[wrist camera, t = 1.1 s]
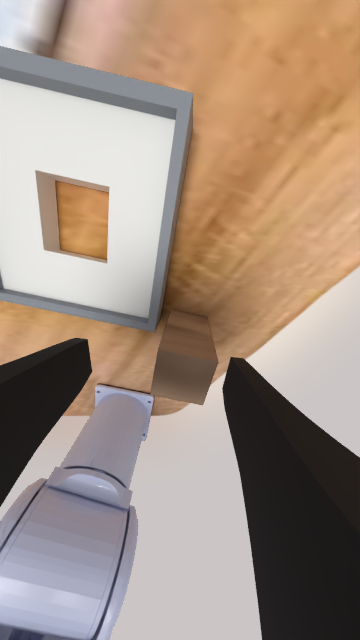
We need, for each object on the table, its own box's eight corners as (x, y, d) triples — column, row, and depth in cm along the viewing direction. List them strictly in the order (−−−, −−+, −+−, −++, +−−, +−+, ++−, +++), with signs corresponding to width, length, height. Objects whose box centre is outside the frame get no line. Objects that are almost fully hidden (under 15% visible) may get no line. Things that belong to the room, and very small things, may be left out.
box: (159, 320, 19) (154, 332, 16) (16, 290, 18) (-15, 297, 16) (192, 128, 13) (193, 93, 10) (-23, 76, 12) (-86, 25, 9)
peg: (198, 347, 20) (202, 405, 12) (165, 340, 20) (150, 394, 12) (207, 317, 18) (218, 362, 11) (171, 309, 18) (158, 349, 11)
